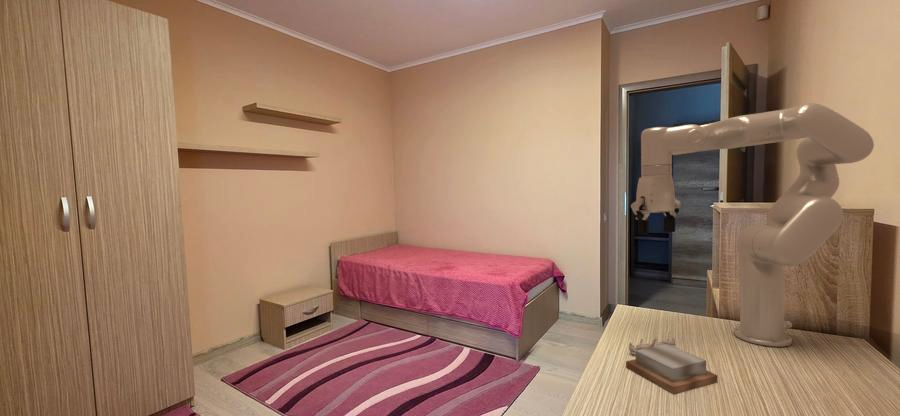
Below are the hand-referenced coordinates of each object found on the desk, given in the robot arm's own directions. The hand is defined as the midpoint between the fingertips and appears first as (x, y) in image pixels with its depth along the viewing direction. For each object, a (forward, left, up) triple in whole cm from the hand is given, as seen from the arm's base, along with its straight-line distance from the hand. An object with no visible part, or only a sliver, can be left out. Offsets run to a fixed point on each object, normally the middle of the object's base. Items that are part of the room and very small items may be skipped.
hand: (656, 232), depth 107 cm
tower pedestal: (+15, +17, -30) cm, 38 cm away
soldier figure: (+4, +9, -29) cm, 31 cm away
